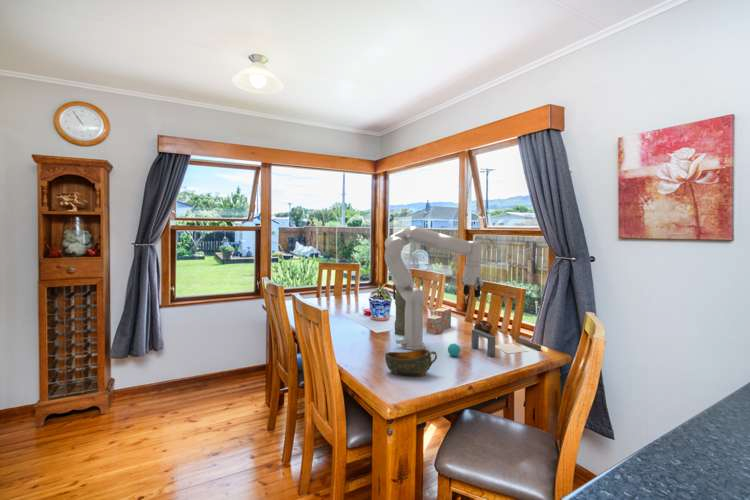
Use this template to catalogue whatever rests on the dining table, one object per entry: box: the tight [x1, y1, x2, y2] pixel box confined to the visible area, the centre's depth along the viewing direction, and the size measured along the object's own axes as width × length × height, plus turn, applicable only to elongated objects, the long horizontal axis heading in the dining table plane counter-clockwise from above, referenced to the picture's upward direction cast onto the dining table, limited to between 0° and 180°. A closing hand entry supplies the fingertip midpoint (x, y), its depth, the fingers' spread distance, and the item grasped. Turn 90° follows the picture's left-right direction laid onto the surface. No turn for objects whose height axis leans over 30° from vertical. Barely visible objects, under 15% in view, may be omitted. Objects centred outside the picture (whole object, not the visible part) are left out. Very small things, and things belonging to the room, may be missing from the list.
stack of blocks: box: [425, 307, 452, 335], centre depth 229 cm, size 21×6×12 cm, turn 144°
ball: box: [447, 343, 461, 357], centre depth 181 cm, size 6×6×6 cm
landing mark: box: [495, 343, 529, 355], centre depth 193 cm, size 13×13×1 cm
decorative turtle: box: [473, 320, 493, 334], centre depth 220 cm, size 10×15×8 cm, turn 139°
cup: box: [384, 348, 438, 378], centre depth 158 cm, size 13×20×10 cm, turn 56°
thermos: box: [392, 283, 406, 336], centre depth 220 cm, size 9×12×35 cm
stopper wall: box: [515, 336, 542, 352], centre depth 197 cm, size 2×16×2 cm, turn 21°
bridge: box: [471, 328, 496, 358], centre depth 187 cm, size 3×15×10 cm, turn 20°
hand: (471, 295), depth 199 cm, fingers open, 9 cm apart
